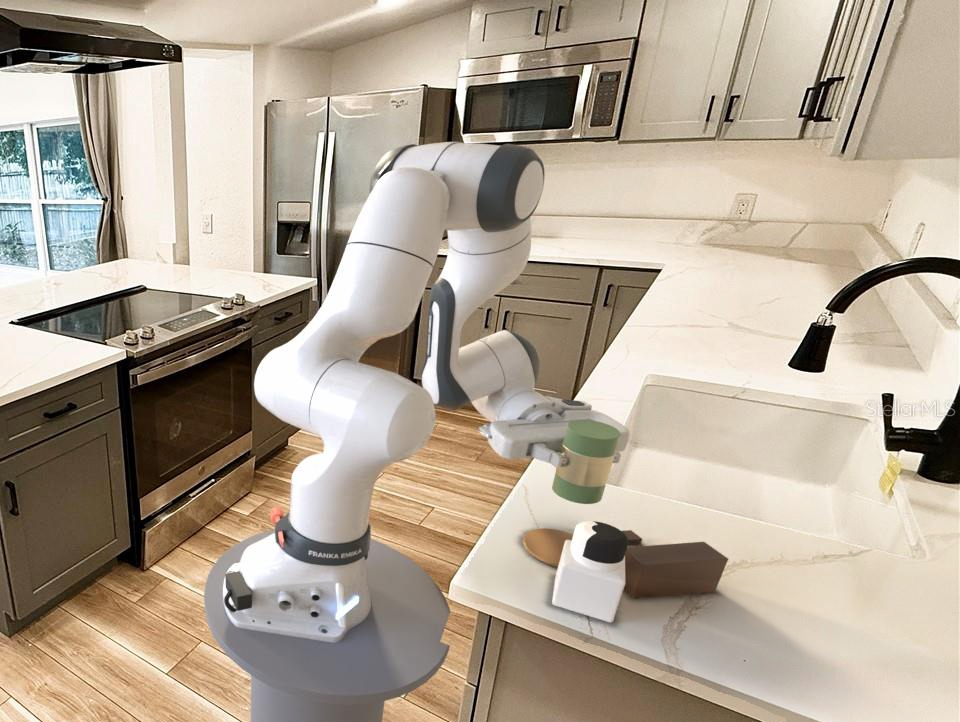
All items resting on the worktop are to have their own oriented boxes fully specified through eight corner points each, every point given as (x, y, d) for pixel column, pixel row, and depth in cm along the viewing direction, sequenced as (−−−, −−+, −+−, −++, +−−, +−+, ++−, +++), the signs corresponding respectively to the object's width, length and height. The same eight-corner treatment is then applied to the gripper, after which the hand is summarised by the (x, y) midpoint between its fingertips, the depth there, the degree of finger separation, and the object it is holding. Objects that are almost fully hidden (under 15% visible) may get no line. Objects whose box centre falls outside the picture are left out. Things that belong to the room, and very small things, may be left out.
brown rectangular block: (569, 540, 100) (577, 509, 97) (641, 535, 100) (651, 504, 98) (633, 598, 87) (644, 565, 85) (715, 592, 87) (728, 558, 85)
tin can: (551, 511, 96) (528, 437, 100) (592, 508, 96) (568, 434, 100) (604, 494, 84) (576, 410, 89) (651, 490, 84) (621, 407, 89)
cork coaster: (541, 569, 94) (542, 566, 93) (512, 531, 103) (512, 528, 102) (610, 570, 93) (611, 567, 92) (574, 531, 102) (575, 528, 102)
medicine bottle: (612, 593, 88) (634, 524, 83) (612, 624, 83) (635, 552, 78) (555, 576, 92) (573, 510, 87) (551, 605, 87) (570, 536, 82)
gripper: (476, 409, 102) (525, 447, 90) (595, 400, 103) (661, 437, 90) (470, 442, 105) (517, 484, 92) (586, 433, 105) (649, 474, 93)
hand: (589, 461), depth 91 cm, fingers closed on tin can, 6 cm apart
